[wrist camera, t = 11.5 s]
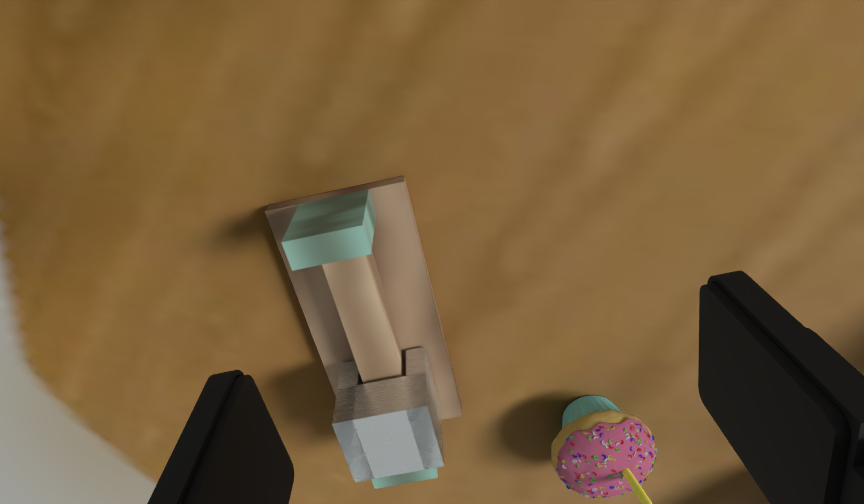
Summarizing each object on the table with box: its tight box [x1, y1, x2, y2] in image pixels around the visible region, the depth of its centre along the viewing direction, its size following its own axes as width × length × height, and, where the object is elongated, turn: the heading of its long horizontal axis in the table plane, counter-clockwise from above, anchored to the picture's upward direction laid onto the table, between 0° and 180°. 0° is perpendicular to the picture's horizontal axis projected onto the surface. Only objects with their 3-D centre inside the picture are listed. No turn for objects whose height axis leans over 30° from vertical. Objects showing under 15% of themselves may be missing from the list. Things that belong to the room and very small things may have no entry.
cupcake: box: [551, 395, 657, 504], centre depth 45 cm, size 9×8×12 cm
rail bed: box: [265, 176, 463, 489], centre depth 41 cm, size 10×22×7 cm, turn 12°
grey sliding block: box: [332, 347, 444, 482], centre depth 43 cm, size 7×6×7 cm
